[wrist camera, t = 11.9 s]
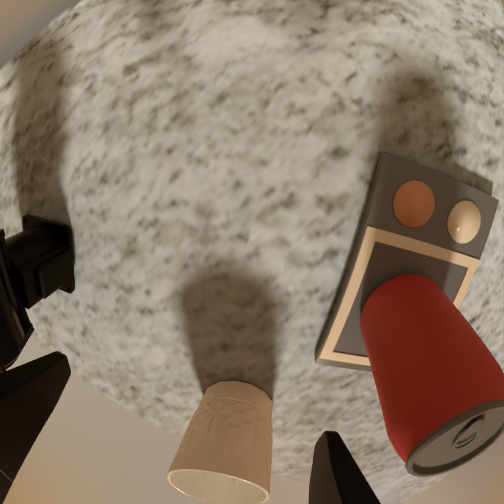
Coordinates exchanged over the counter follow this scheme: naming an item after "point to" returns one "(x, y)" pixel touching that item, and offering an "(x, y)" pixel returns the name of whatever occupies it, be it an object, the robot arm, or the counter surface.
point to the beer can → (431, 376)
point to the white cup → (227, 447)
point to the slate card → (407, 247)
